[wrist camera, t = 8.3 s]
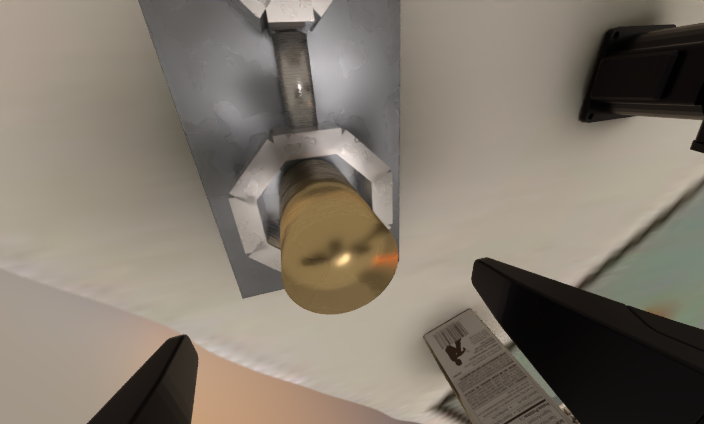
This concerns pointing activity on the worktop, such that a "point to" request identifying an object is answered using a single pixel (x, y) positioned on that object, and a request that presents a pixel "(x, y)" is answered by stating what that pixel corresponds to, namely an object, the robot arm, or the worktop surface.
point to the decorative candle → (568, 413)
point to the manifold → (281, 108)
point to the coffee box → (489, 376)
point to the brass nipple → (331, 241)
